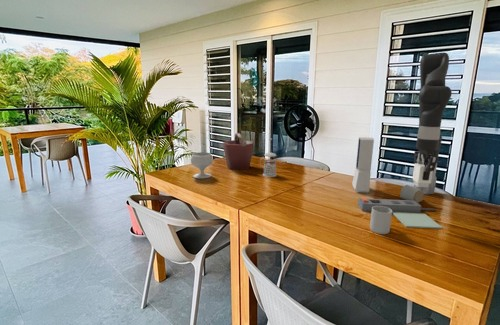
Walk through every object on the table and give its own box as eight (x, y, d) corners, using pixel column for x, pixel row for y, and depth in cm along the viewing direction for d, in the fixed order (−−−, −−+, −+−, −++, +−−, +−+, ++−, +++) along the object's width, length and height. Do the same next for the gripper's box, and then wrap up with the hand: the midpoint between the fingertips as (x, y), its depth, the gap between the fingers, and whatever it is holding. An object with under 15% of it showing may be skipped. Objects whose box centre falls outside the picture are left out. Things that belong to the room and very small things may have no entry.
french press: (277, 177, 186) (278, 139, 180) (259, 176, 186) (260, 139, 180) (276, 173, 195) (277, 137, 189) (259, 172, 195) (260, 136, 190)
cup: (366, 230, 112) (369, 209, 110) (375, 222, 120) (377, 202, 118) (386, 236, 108) (388, 214, 106) (393, 227, 115) (396, 207, 113)
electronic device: (369, 193, 155) (375, 139, 148) (354, 192, 157) (360, 138, 150) (365, 186, 167) (370, 136, 160) (351, 186, 168) (356, 135, 162)
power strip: (430, 208, 136) (432, 199, 135) (438, 213, 129) (440, 205, 128) (357, 205, 139) (358, 196, 138) (361, 210, 132) (362, 202, 131)
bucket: (253, 171, 199) (253, 136, 193) (221, 171, 199) (221, 135, 193) (253, 163, 223) (253, 131, 217) (225, 163, 223) (224, 131, 217)
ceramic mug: (413, 205, 139) (416, 190, 138) (398, 199, 146) (401, 185, 145) (427, 202, 144) (429, 187, 142) (411, 197, 151) (414, 183, 149)
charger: (424, 183, 121) (427, 163, 118) (430, 187, 116) (433, 166, 114) (411, 183, 121) (414, 163, 119) (417, 187, 116) (420, 166, 114)
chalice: (217, 176, 186) (217, 153, 183) (201, 180, 176) (200, 157, 172) (203, 172, 195) (202, 151, 192) (187, 176, 185) (186, 154, 181)
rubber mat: (424, 214, 128) (424, 213, 128) (441, 228, 115) (442, 227, 114) (392, 213, 129) (392, 212, 129) (405, 227, 116) (406, 225, 116)
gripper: (448, 140, 106) (441, 183, 110) (428, 135, 120) (422, 173, 124) (427, 140, 107) (421, 183, 111) (410, 135, 121) (404, 173, 125)
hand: (421, 178), depth 118 cm, fingers closed on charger, 5 cm apart
